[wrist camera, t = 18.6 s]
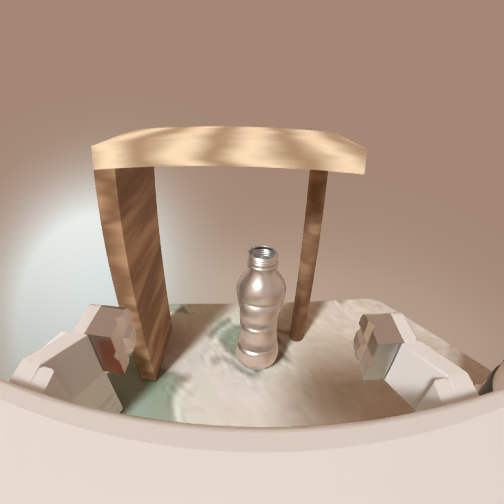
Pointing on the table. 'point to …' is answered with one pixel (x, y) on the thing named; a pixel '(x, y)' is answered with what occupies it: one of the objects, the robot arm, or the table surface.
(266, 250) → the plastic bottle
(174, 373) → the table surface
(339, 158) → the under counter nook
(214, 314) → the table surface
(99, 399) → the supplement box
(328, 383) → the table surface
